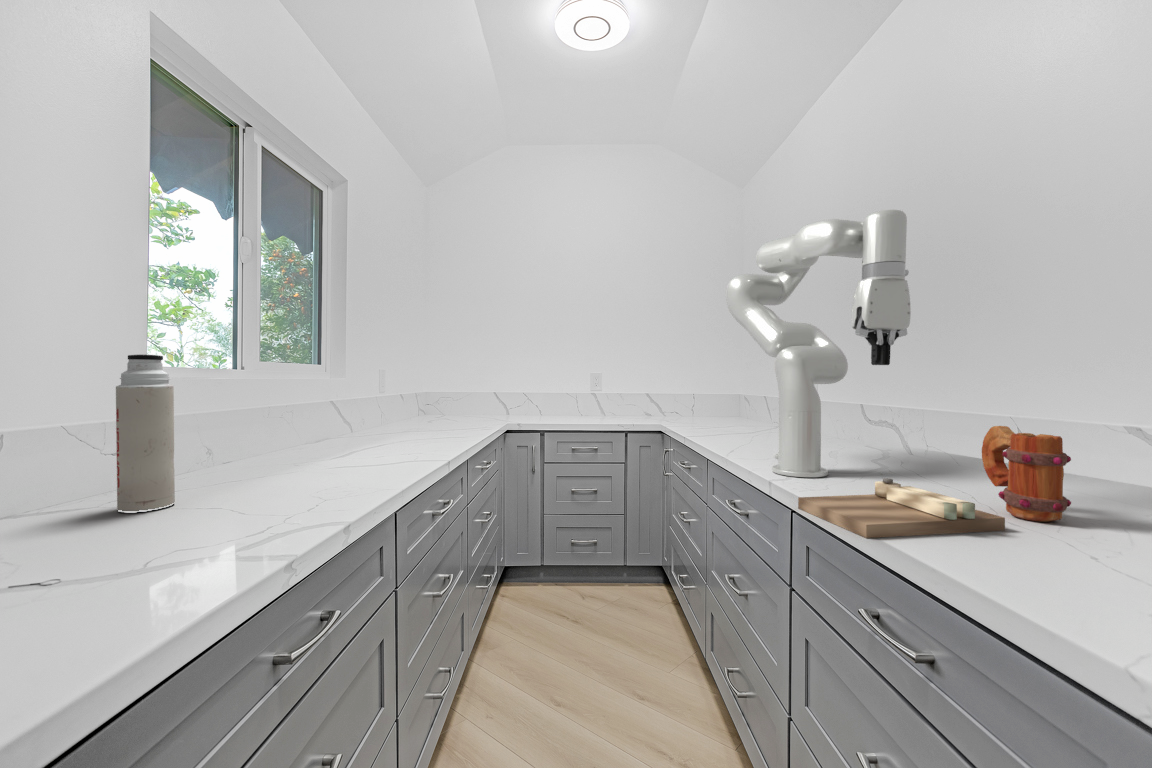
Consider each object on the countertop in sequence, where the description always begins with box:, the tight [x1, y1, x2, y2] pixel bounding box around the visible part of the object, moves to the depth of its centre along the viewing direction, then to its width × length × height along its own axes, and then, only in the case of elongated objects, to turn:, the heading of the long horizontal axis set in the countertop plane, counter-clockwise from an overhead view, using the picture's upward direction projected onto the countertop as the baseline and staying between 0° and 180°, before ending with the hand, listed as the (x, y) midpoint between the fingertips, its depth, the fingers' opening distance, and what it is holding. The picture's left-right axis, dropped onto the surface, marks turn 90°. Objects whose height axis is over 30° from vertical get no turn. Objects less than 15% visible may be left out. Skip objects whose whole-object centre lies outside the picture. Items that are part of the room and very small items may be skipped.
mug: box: [981, 425, 1072, 523], centre depth 87 cm, size 15×8×15 cm, turn 179°
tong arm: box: [874, 480, 957, 520], centre depth 84 cm, size 17×4×2 cm, turn 7°
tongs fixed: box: [882, 477, 976, 519], centre depth 84 cm, size 16×3×3 cm, turn 9°
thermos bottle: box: [115, 354, 176, 511], centre depth 91 cm, size 8×8×28 cm
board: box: [797, 493, 1006, 539], centre depth 84 cm, size 17×24×2 cm
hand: (880, 364), depth 102 cm, fingers closed
